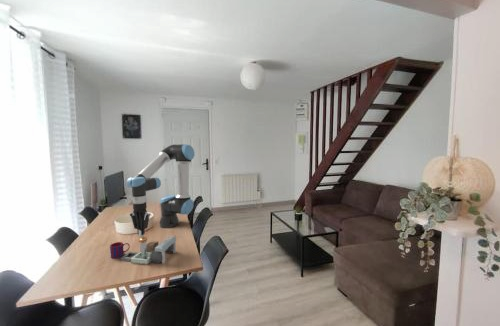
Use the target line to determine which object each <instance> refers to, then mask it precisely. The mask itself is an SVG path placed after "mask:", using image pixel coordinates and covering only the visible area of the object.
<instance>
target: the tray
mask: <svg viewBox="0 0 500 326" xmlns="http://www.w3.org/2000/svg"><path fill="white" fill-rule="evenodd" d="M137 253H138V254H137V255H135V256H134V257H133V256H132V257H133V258H132V257H131V261H130V262H131V264H140V265H149V264H150V263H151V262H152V260H151V258H150V255H151V253H150V252H147V255H148V259H141V252H137Z"/></svg>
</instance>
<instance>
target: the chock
mask: <svg viewBox="0 0 500 326" xmlns="http://www.w3.org/2000/svg"><path fill="white" fill-rule="evenodd" d="M146 244H147V252H150V253H152V252H153V251H154V250H155V247H157V246H158V245H159V244H160V243H159V240H151V241H149V242H148V243H146Z"/></svg>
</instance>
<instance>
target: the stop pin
mask: <svg viewBox="0 0 500 326" xmlns="http://www.w3.org/2000/svg"><path fill="white" fill-rule="evenodd" d="M147 240H148V238H147V237H146V236H145V237H143V238H140V239H139V238H138V242H139V249H140V250H139V251H140V252H141V259H148V255H147V244H148V243H147Z"/></svg>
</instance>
